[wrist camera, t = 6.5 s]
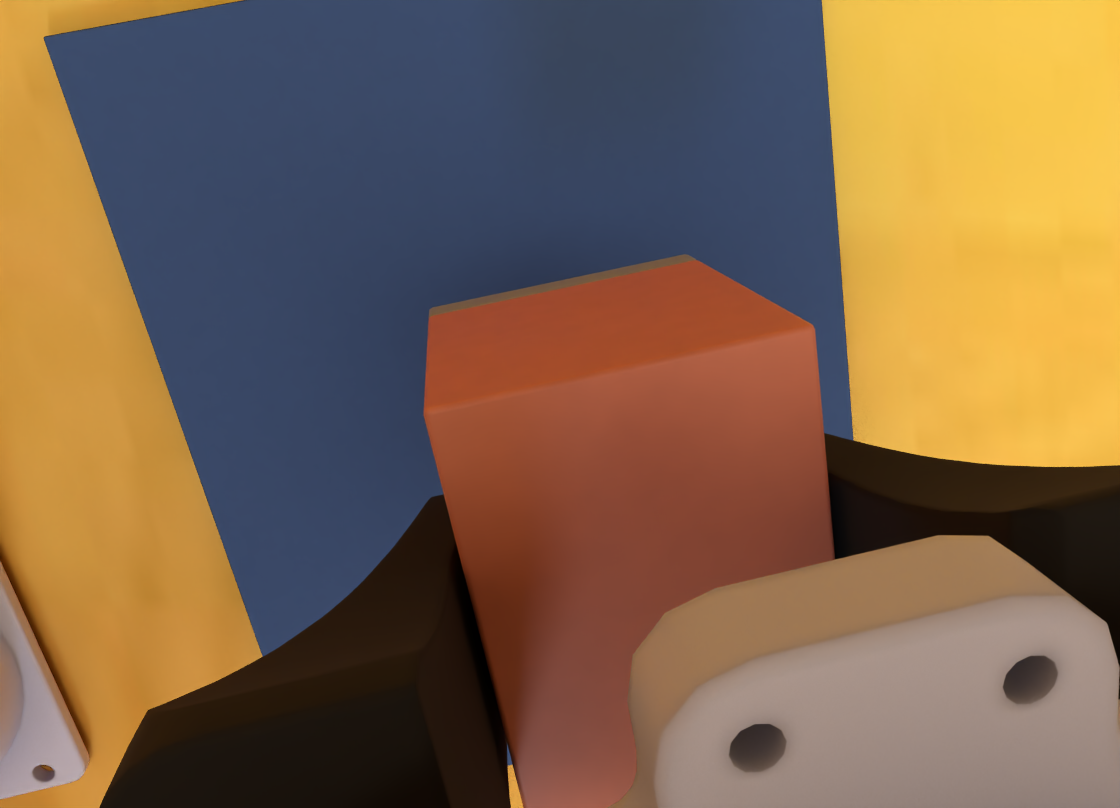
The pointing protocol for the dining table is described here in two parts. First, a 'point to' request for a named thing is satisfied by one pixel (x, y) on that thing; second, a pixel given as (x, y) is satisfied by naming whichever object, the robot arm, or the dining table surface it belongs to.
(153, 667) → the dining table surface
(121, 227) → the cloth
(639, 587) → the orange rectangular block
